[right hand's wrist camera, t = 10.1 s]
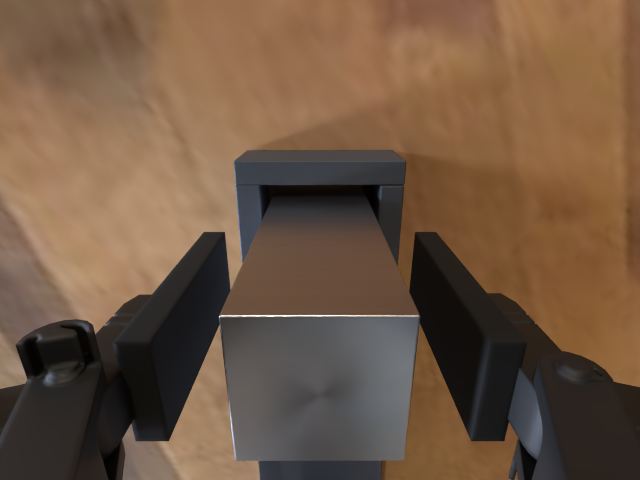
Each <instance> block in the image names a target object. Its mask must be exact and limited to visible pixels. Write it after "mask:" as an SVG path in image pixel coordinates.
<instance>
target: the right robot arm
mask: <svg viewBox="0 0 640 480" xmlns="http://www.w3.org/2000/svg"><path fill="white" fill-rule="evenodd" d="M229 293H230V281H229V271H228V260H227V250H226V240H225V232H204V233H203V234H202V235H201V236H200V238H199V239H198V240H197V241H196V242H195V244H194V245H193V246H192V247H191V248H190V250H189V251H188V252H187V253H186V254H185V256H184V257H183V258H182V259H181V260H180V262H179V263H178V264H177V265H176V267H175V268H174V269H173V270H172V271H171V273H170V274H169V275H168V276H167V277H166V279H165V280H164V281H163V282H162V283H161V285H160V286H159V287H158V288H157V289H156V291H155V292H154V293H153V294H152V295H138V296H136V297H135V298H133V299H131V300H130V301H128V302H126V303H125V304H123V305H122V307H121V308H120V309H119V310H118V311H117V312H116V313H115V314H114V317H111V318H110V319H109V321H108V322H107V323H106V326H103V327H102V328H101V329H100V330H99V331H98V332H97V333H96V335H95V332H94V328H93V325H92V324H91V323H89V322H88V321H84V320H77V319H76V320H64V321H60V322H56V323H52V324H48V325H46V326H43V327H41V328H38V329H36V330H34V331H32V332H31V333H29V334H28V335H26V336H24V337H23V338H22V339H21V340H20V341H19V342H18V343H17V344H16V348H17V350H18V353H19V356H20V359H21V362H22V365H23V368H24V370H25V373H26V376H27V379H28V380H27V382H26V384H23V385H18V386H13V387H8V388H4V389H0V480H122V477H123V468H124V460H125V450H124V445H123V441H122V438H123V436H124V435H125V433H126V431H127V429H128V428H129V426H130V424H131V423H132V427H133V431H134V435H135V440H136V441H169V439H170V437H171V435H172V432H173V430H174V428H175V425H176V423H177V421H178V419H179V416H180V414H181V412H182V409H183V407H184V405H185V402H186V400H187V398H188V396H189V393H190V391H191V389H192V386H193V384H194V382H195V379H196V377H197V375H198V373H199V370H200V368H201V366H202V363H203V361H204V359H205V356H206V354H207V352H208V349H209V347H210V345H211V343H212V340H213V338H214V336H215V333H216V331H217V329H218V326H219V324H220V322H219V315H220V313H221V311H222V309H223V306H224V304H225V302H226V300H227V297H228V295H229ZM409 293H410V295H411V297H412V299H413V301H414V304H415V306H416V308H417V310H418V313H419V315H420V324H421V326H422V329H423V331H424V333H425V336H426V338H427V340H428V343H429V345H430V347H431V349H432V352H433V354H434V356H435V359H436V361H437V363H438V366H439V368H440V370H441V373H442V375H443V377H444V379H445V382H446V384H447V386H448V389H449V391H450V393H451V396H452V398H453V400H454V402H455V405H456V407H457V409H458V412H459V414H460V416H461V419H462V421H463V423H464V425H465V428H466V430H467V432H468V435H469V437H470V439H471V441H504V439H505V435H506V431H507V427H508V423H509V422H510V424H511V426H512V427H513V429H514V431H515V433H516V434H517V436H518V441H517V445H516V449H515V453H514V457H513V461H512V464H511V468H510V473H509V479H511V480H514V479H515V475H516V472H517V475H518V480H640V387H635V386H630V385H626V384H621V383H616V382H614V381H613V379H612V378H611V377H610V375H609V374H608V373H607V372H606V370H604V369H603V368H602V367H600V366H599V365H598V364H596V363H595V362H593V361H591V360H589V359H587V358H584V357H582V356H580V355H576V354H573V353H569V352H563V351H561V350H560V349H559V348H558V347H557V346H556V345H555V343H554V342H553V341H552V340H551V339H550V338H549V337H548V336H547V335H546V334H545V333H544V332H543V331H542V330H541V328H540V327H539V326H538V325H537V324H534V321H533V320H532V319H531V318H530V317H529V316H528V315H526V312H525V311H524V310H523V309H522V308H521V307H520V306H519V305H518V304H517V303H516V302H514V301H513V300H511V299H509V298H508V297H506V296H504V295H502V294H501V293H486V292H485V291H484V289H483V288H482V287H481V286H480V285H479V283H478V282H477V281H476V280H475V279H474V277H473V276H472V275H471V274H470V273H469V271H468V270H467V269H466V268H465V267H464V265H463V264H462V263H461V262H460V261H459V259H458V258H457V257H456V256H455V254H454V253H453V252H452V251H451V250H450V248H449V247H448V246H447V245H446V244H445V242H444V241H443V240H442V239H441V238H440V236H439V235H438V234H437V233H436V232H415V240H414V250H413V260H412V271H411V281H410V291H409Z"/></svg>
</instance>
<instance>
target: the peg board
mask: <svg viewBox="0 0 640 480" xmlns="http://www.w3.org/2000/svg"><path fill="white" fill-rule="evenodd" d="M405 171H406V161H405V160H404V159H403V158H401V157H400V156H399V155H398V154H397V153H395V152H394V151H392V150H288V151H246V152H245V153H244V154H242V155H241V156H240V157H239V158H237V159H236V160H235V161H234V173H235V184H236V197H237V209H238V221H239V233H240V245H241V257H242V264H243V262H244V260H245V257H246V255H247V253H248V251H249V249H250V246H251V244H252V242H253V240H254V237H255V235H256V233H257V231H258V229H259V226H260V224H261V222H262V220H263V217H264V215H265V213H266V211H267V209H268V206H269V204H270V191H269V185H371V194H370V206H371V208H372V210H373V212H374V215H375V217H376V219H377V221H378V224H379V226H380V228H381V230H382V232H383V235H384V237H385V239H386V241H387V244H388V246H389V248H390V250H391V252H392V255H393V257H394V259H395V261H396V264H397V266H398V255H399V243H400V230H401V218H402V206H403V193H404V186H403V185H404V183H405ZM381 466H382V461H259V473H260V480H380V478H381Z"/></svg>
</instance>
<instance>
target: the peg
mask: <svg viewBox="0 0 640 480" xmlns="http://www.w3.org/2000/svg"><path fill="white" fill-rule="evenodd" d="M219 322H220V331H221V340H222V349H223V357H224V366H225V375H226V384H227V393H228V401H229V410H230V419H231V428H232V437H233V446H234V454H235V460H236V461H403V460H404V457H405V448H406V439H407V430H408V421H409V412H410V403H411V394H412V385H413V376H414V368H415V359H416V350H417V341H418V332H419V323H420V315H419V313H418V310H417V308H416V306H415V304H414V301H413V299H412V297H411V295H410V293H409V290H408V288H407V286H406V284H405V281H404V279H403V277H402V275H401V273H400V270H399V268H398V266H397V264H396V261H395V259H394V257H393V255H392V252H391V250H390V248H389V246H388V244H387V241H386V239H385V237H384V235H383V232H382V230H381V228H380V226H379V224H378V221H377V219H376V217H375V215H374V212H373V210H372V208H371V206H370V203H369V201H368V199H367V197H366V195H365V192H364V190H363V188H362V186H361V185H278V186H277V188H276V191H275V193H274V195H273V197H272V200H271V202H270V204H269V206H268V209H267V211H266V213H265V215H264V217H263V220H262V222H261V224H260V226H259V229H258V231H257V233H256V235H255V237H254V240H253V242H252V244H251V246H250V249H249V251H248V253H247V255H246V257H245V260H244V262H243V264H242V266H241V269H240V271H239V273H238V275H237V277H236V280H235V282H234V284H233V286H232V289H231V291H230V293H229V295H228V297H227V300H226V302H225V304H224V306H223V309H222V311H221V313H220V315H219Z"/></svg>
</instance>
